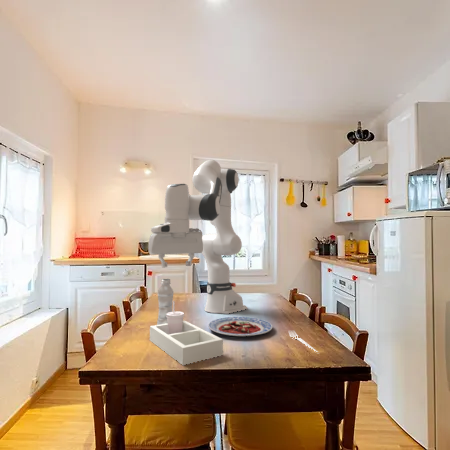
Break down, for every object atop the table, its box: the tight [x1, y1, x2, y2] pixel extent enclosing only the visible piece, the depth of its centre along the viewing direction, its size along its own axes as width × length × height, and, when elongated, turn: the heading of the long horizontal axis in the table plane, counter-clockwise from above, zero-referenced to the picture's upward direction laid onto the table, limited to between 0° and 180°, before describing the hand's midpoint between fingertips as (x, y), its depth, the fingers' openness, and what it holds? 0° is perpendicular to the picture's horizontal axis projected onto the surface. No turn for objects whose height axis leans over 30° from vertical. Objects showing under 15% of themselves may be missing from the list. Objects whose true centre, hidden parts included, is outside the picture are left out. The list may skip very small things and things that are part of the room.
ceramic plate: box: [208, 316, 273, 338], centre depth 125 cm, size 26×26×3 cm
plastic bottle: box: [156, 278, 174, 325], centre depth 126 cm, size 6×7×20 cm
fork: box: [288, 330, 319, 353], centre depth 110 cm, size 3×20×2 cm, turn 14°
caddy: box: [149, 320, 224, 366], centre depth 105 cm, size 26×14×5 cm, turn 34°
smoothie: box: [166, 300, 185, 334], centre depth 111 cm, size 6×6×14 cm
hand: (176, 266), depth 111 cm, fingers open, 8 cm apart
